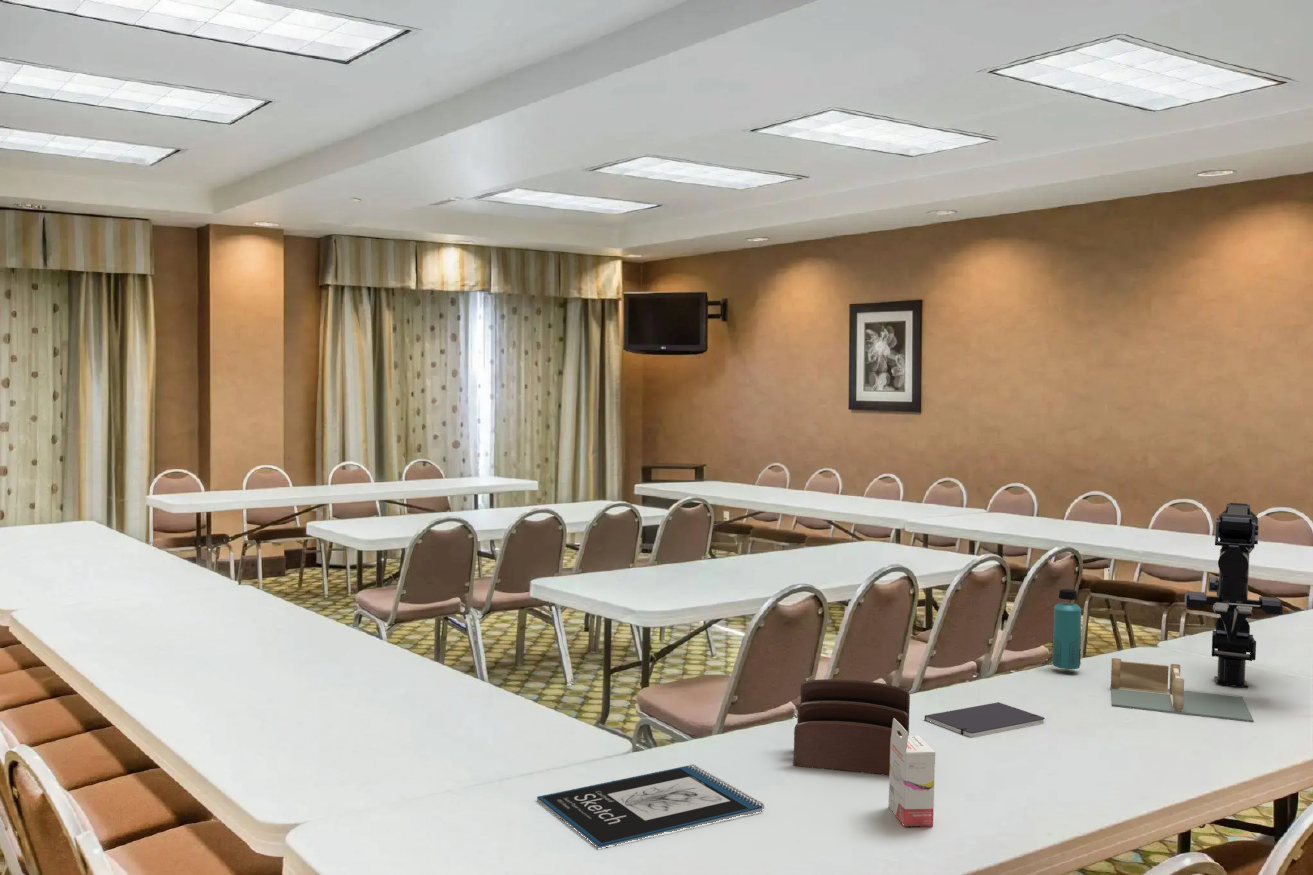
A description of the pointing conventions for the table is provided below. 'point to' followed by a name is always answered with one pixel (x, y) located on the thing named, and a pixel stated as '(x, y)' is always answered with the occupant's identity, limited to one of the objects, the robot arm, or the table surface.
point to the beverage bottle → (1067, 632)
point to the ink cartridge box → (911, 778)
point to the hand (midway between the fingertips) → (1231, 641)
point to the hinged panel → (1177, 690)
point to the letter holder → (848, 724)
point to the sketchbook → (648, 805)
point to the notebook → (984, 719)
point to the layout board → (1184, 703)
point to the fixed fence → (1141, 676)
